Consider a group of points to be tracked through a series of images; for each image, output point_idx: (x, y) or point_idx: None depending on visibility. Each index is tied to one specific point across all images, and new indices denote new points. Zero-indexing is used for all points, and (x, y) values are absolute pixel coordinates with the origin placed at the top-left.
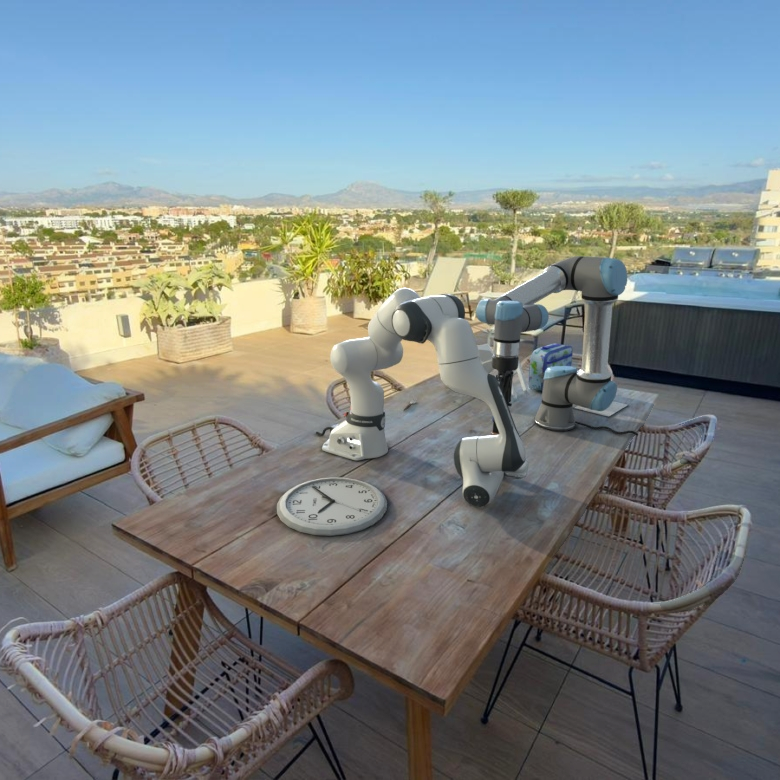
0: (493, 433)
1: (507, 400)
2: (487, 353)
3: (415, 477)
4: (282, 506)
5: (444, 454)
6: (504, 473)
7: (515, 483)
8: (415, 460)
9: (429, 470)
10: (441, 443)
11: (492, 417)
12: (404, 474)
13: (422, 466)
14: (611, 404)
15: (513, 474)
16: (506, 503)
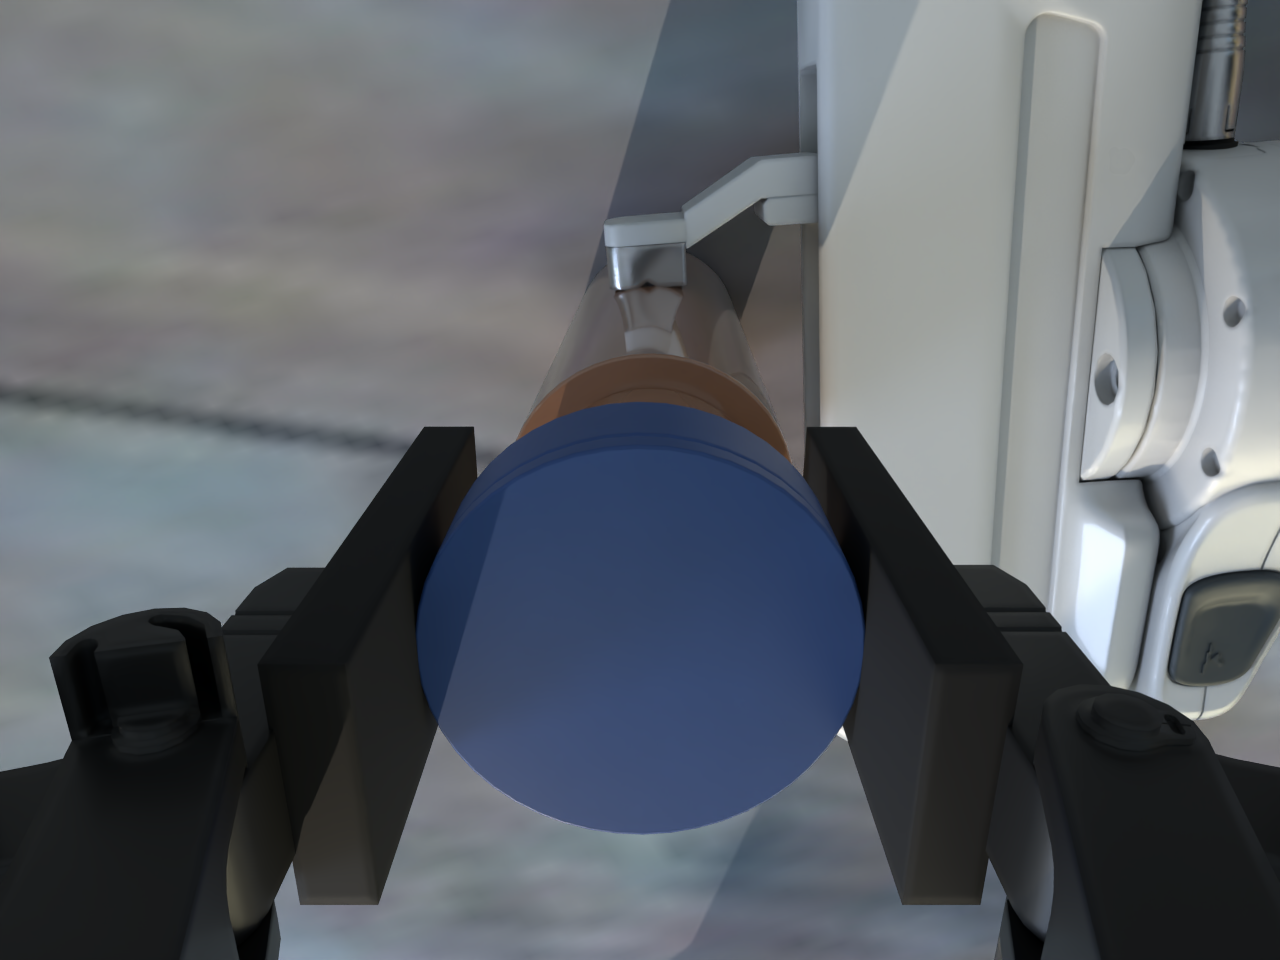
0: None
1: (204, 898)
2: None
3: None
4: None
5: (497, 821)
6: (1231, 140)
7: (783, 74)
8: (725, 954)
9: (853, 822)
10: (297, 904)
11: (728, 795)
12: (997, 937)
13: (806, 883)
14: None
15: (1241, 12)
16: (1261, 49)
